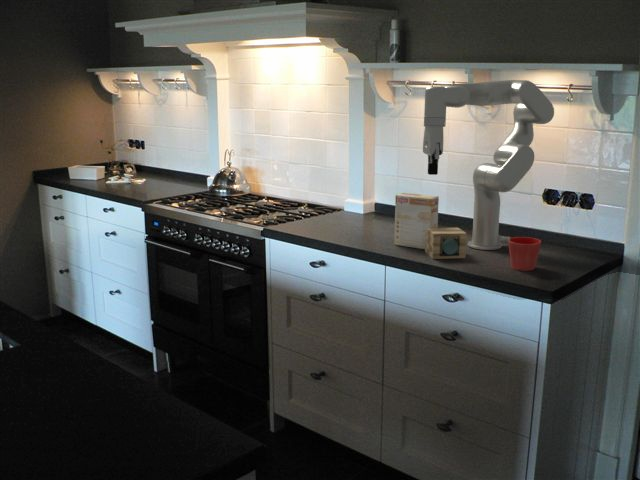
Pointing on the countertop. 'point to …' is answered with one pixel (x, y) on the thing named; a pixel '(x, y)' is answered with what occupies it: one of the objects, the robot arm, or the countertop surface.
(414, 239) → the coffeecake box
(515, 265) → the flower pot
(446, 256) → the block
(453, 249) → the peg
